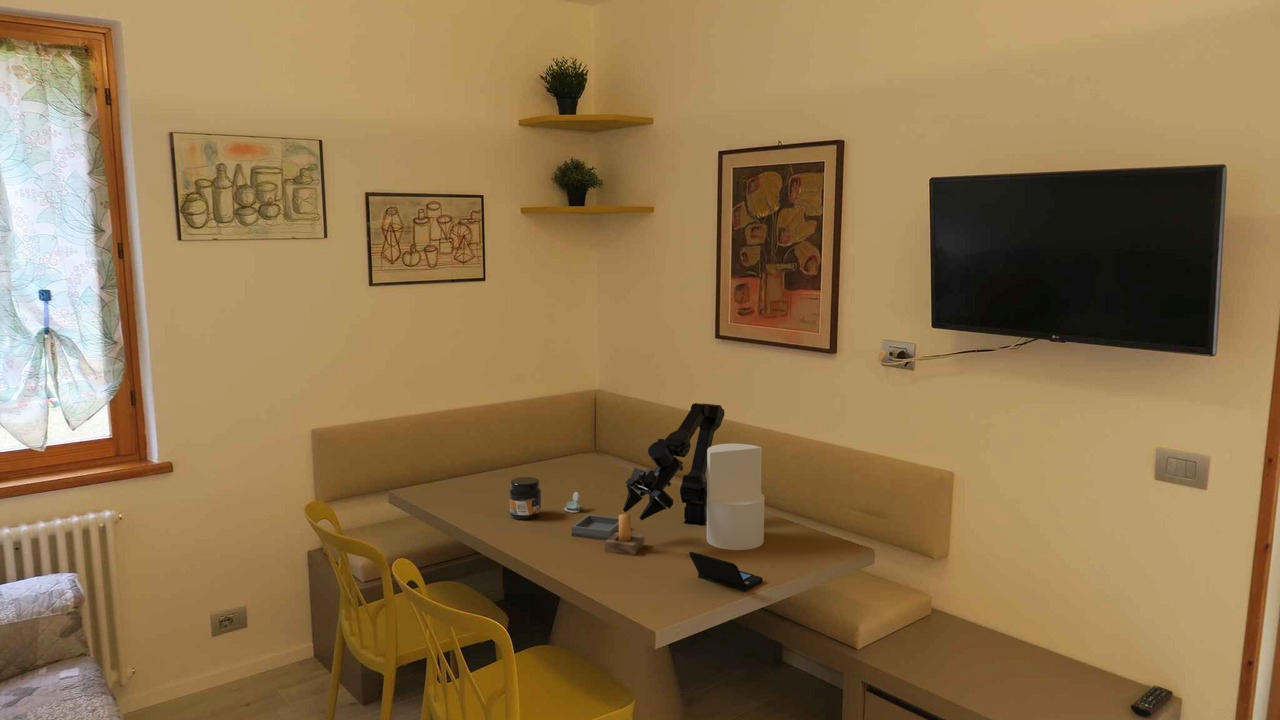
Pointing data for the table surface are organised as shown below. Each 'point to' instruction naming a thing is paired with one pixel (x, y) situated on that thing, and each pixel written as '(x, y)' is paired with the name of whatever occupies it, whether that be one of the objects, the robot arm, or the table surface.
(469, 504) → the table surface
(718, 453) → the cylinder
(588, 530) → the tray
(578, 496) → the pacifier
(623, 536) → the pin
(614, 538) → the socket block
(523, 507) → the supplement container
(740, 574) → the game console
